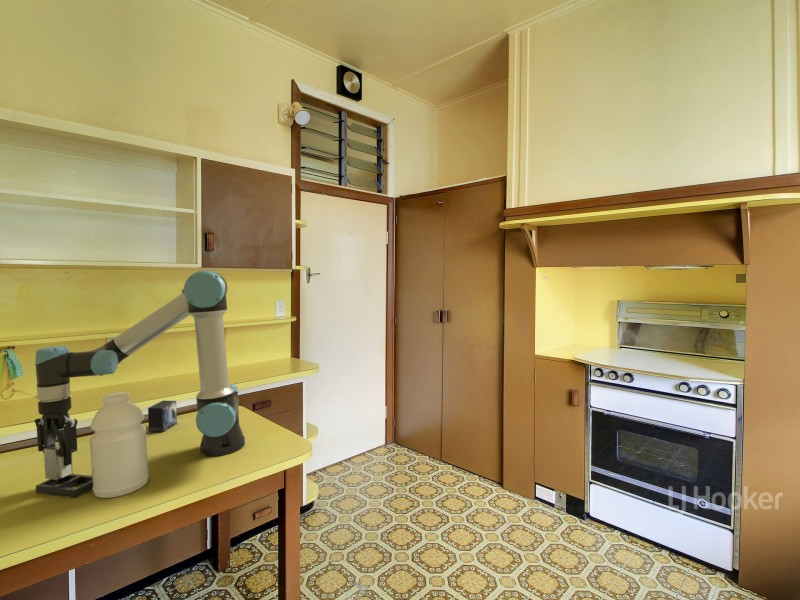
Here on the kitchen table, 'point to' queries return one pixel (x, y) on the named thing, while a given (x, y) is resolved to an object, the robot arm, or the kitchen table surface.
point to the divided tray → (66, 486)
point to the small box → (162, 416)
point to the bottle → (118, 447)
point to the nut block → (53, 462)
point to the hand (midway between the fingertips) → (59, 474)
